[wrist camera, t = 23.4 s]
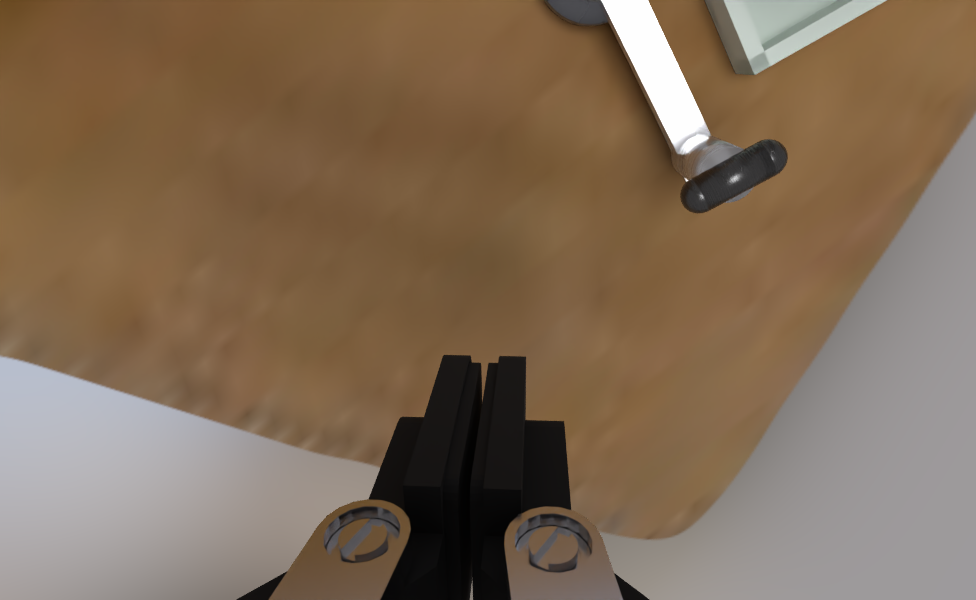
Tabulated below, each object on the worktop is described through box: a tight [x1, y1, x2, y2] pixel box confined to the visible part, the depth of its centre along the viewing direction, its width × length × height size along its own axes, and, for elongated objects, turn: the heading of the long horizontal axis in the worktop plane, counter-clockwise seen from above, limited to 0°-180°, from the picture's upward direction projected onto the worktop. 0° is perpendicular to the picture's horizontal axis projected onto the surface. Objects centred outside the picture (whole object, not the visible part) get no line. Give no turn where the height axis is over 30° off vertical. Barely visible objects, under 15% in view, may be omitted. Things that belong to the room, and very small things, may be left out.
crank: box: [584, 0, 788, 213], centre depth 26 cm, size 14×5×8 cm, turn 32°
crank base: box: [544, 0, 688, 182], centre depth 31 cm, size 16×6×2 cm, turn 31°
